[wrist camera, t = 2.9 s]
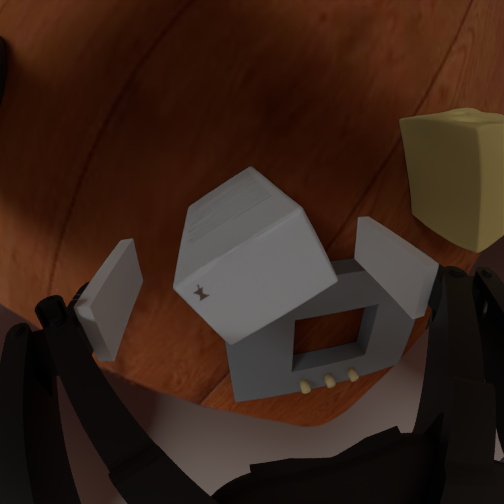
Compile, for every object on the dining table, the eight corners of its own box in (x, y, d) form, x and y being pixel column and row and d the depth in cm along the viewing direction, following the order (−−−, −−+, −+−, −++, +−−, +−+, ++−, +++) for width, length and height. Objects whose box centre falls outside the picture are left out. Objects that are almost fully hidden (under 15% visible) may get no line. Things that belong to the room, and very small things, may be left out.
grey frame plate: (233, 386, 31) (236, 411, 27) (216, 274, 24) (218, 301, 21) (390, 352, 33) (403, 371, 30) (419, 248, 27) (441, 265, 23)
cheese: (457, 106, 20) (529, 116, 11) (466, 195, 25) (528, 226, 16) (391, 115, 20) (476, 122, 11) (407, 220, 25) (475, 264, 16)
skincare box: (217, 246, 23) (227, 349, 12) (187, 206, 21) (166, 287, 11) (279, 207, 22) (342, 283, 12) (252, 163, 21) (300, 202, 10)
